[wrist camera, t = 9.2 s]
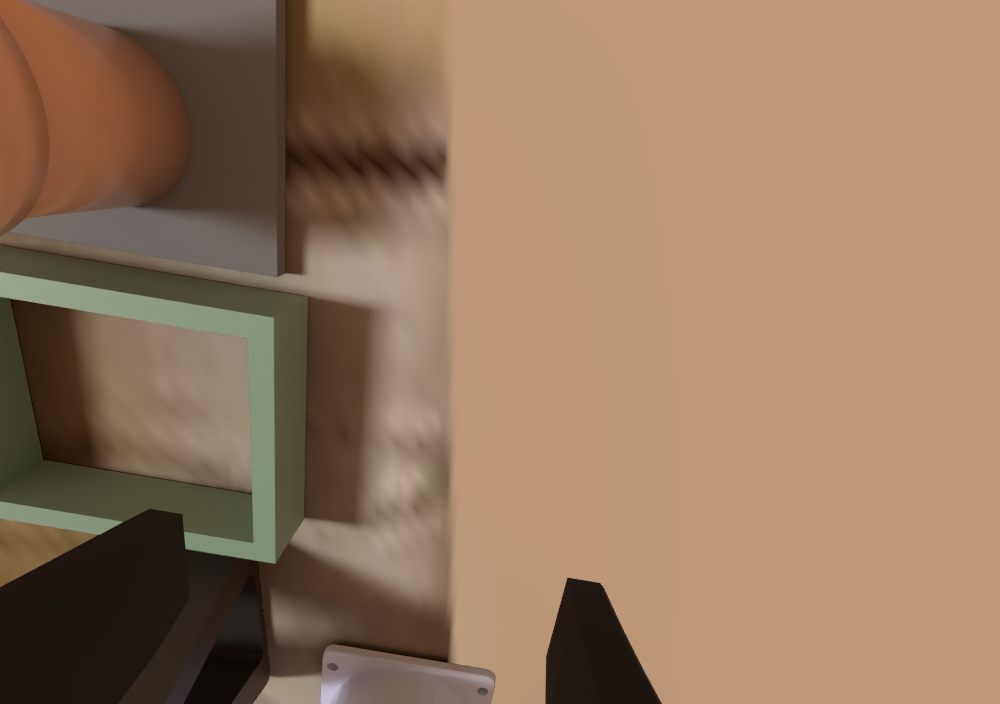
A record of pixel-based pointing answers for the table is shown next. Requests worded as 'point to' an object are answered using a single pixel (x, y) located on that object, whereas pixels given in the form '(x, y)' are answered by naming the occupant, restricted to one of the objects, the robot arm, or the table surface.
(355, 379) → the table surface
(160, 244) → the slate mat
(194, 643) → the phone stand
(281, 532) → the frame
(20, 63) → the terracotta pot
